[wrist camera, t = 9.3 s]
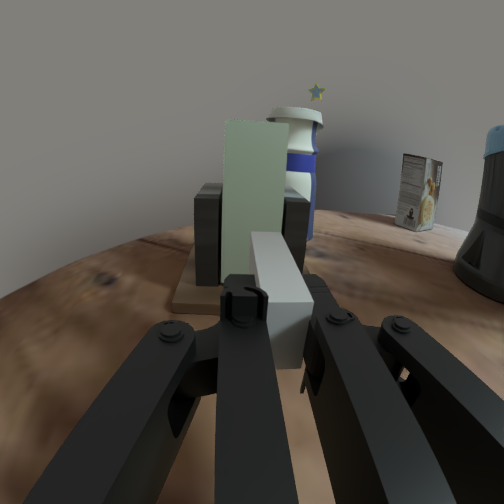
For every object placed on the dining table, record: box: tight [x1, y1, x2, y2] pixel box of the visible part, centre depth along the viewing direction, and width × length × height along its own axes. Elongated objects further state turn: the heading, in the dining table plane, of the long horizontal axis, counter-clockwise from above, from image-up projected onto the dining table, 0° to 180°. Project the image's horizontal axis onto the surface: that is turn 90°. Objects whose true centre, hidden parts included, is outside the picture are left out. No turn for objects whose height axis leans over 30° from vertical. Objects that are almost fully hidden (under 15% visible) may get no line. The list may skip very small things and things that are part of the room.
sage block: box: [221, 120, 289, 283], centre depth 27 cm, size 9×5×14 cm, turn 3°
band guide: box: [172, 183, 311, 315], centre depth 28 cm, size 15×13×9 cm
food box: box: [395, 154, 443, 232], centre depth 53 cm, size 9×6×16 cm
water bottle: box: [266, 83, 325, 241], centre depth 40 cm, size 8×9×25 cm
